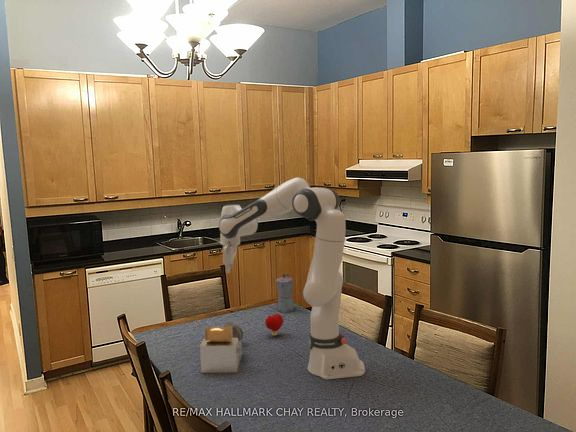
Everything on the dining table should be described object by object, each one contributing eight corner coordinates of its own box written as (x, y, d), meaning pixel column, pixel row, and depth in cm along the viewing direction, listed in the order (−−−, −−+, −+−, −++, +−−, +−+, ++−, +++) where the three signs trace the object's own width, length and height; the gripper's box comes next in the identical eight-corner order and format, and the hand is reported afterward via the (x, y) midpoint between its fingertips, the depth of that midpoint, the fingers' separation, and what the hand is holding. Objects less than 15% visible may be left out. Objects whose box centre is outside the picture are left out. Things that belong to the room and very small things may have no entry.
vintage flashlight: (230, 337, 227) (229, 317, 224) (244, 342, 223) (243, 321, 220) (213, 349, 217) (212, 328, 214) (227, 354, 213) (226, 333, 210)
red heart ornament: (271, 340, 223) (271, 319, 221) (262, 336, 228) (261, 315, 227) (287, 335, 229) (286, 314, 227) (277, 331, 234) (276, 311, 233)
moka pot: (274, 314, 258) (273, 277, 255) (279, 304, 273) (278, 270, 270) (292, 314, 257) (291, 277, 254) (296, 305, 272) (295, 270, 269)
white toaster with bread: (242, 354, 209) (240, 315, 207) (237, 372, 192) (235, 330, 190) (208, 354, 209) (206, 316, 207) (200, 372, 193) (198, 331, 190)
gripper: (234, 244, 208) (233, 276, 209) (239, 237, 228) (238, 266, 229) (219, 243, 208) (219, 275, 209) (226, 236, 228) (225, 265, 229)
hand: (229, 270), depth 220 cm, fingers open, 8 cm apart
